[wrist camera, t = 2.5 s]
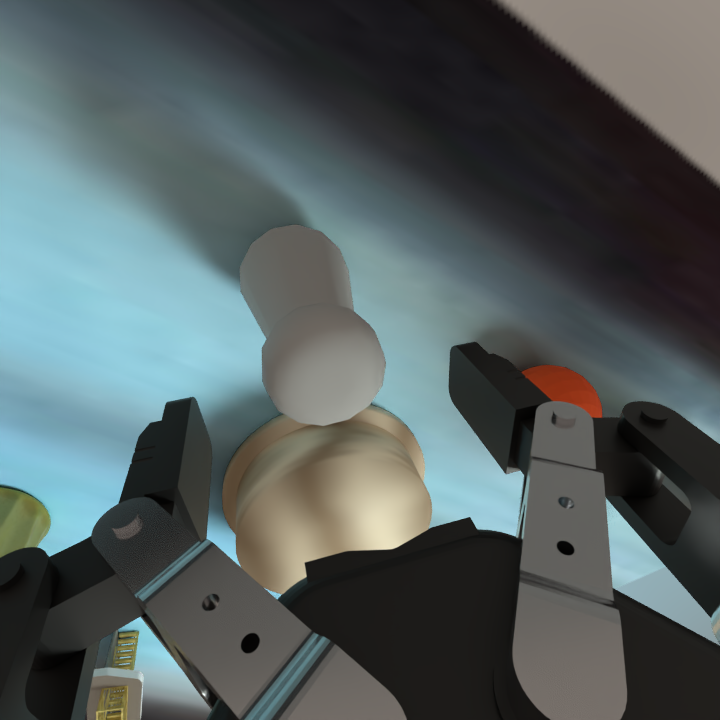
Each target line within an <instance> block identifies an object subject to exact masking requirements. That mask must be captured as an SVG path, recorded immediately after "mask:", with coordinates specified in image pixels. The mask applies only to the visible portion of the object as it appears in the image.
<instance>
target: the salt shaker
mask: <svg viewBox="0 0 720 720" xmlns="http://www.w3.org/2000/svg"><path fill="white" fill-rule="evenodd" d="M240 288H241V293H242V295H243V297H244V299H245V301H246V302H247V304H248V306H249V308H250V310H251V312H252V314H253V315H254V317H255V319H256V321H257V323H258V324H259V326H260V328H261V330H262V332H263V333H264V335H265V337H266V339H267V340H266V342H265V343H264V345H263V347H262V382H263V384H264V386H265V388H266V391H267V393H268V394H269V396H270V398H271V399H272V401H273V403H274V404H275V406H276V408H277V409H278V411H279V412H281V413H283V414H285V415H286V416H288V417H290V418H292V419H293V420H295V421H297V422H299V423H305V424H313V425H321V426H325V425H329V424H333V423H337V422H341V421H344V420H348V419H350V418H351V417H353V416H354V415H356V414H357V413H359V412H360V411H362V410H363V409H365V408H366V407H368V406H369V405H370V404H371V402H372V401H373V399H374V398H375V396H376V395H377V393H378V391H379V390H380V388H381V387H382V385H383V378H384V372H385V366H386V361H385V357H384V353H383V351H382V348H381V346H380V343H379V341H378V338H377V336H376V333H375V331H374V330H373V329H372V327H371V326H370V325H369V324H368V323H367V322H366V321H365V320H363V319H362V318H361V317H360V316H359V315H358V314H356V313H355V312H354V308H353V301H352V293H351V286H350V279H349V272H348V268H347V266H346V263H345V261H344V259H343V256H342V254H341V251H340V249H339V248H338V247H337V246H336V245H335V244H334V243H333V242H332V241H331V240H330V239H329V238H327V237H326V236H325V235H324V234H323V233H322V232H320V231H318V230H314V229H311V228H307V227H304V226H300V225H296V224H294V225H288V226H283V227H277V228H272V229H270V230H269V231H267V232H266V233H265V234H263V235H262V236H261V237H259V238H258V239H257V240H255V241H254V242H253V243H251V245H250V247H249V250H248V252H247V254H246V256H245V258H244V260H243V262H242V264H241V266H240Z"/></svg>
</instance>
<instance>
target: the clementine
mask: <svg viewBox="0 0 720 720" xmlns="http://www.w3.org/2000/svg"><path fill="white" fill-rule="evenodd" d="M521 373H522V374H524V375H525V377H526V378H528V379H529V380H530V381H531V382H532V383H533V384H535V385H536V386H537V387H538V388H539V389H540V390H541V391H542V392H543V393H544V394H546V395H547V396H548V397H549V398H550V399H551V400H552V401H561V402H567V403H571V404H574V405H577V406H579V407H581V408H582V409H584V410H585V411H587V412H588V413H589V414H590V416H591V417H594V418H602V406H601V402H600V399H599V397H598V395H597V393H596V390H595V389H594V388H593V387H592V386H591V384H590V383H589V382H588V381H587V380H586V379H585V378H584V377H583V376H581V375H579V374H578V373H576V372H574V371H572V370H570V369H568V368H566V367H561V366H554V365H542V366H536V367H531V368H529V369H526V370H524V371H522V372H521Z"/></svg>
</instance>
